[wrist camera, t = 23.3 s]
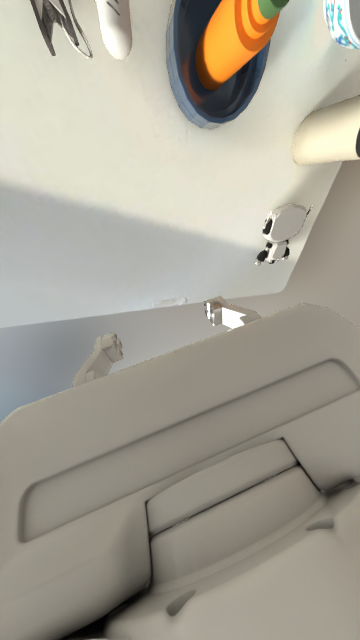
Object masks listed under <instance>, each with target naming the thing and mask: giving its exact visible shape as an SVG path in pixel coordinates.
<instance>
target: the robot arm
mask: <svg viewBox="0 0 360 640" xmlns="http://www.w3.org/2000/svg"><path fill="white" fill-rule="evenodd" d="M204 305H205V306H206V308H205V313H206V316H207V317H208V318H209V319H210V321H211V323H212V324H213V326H215V325H218V324H221V323H223V324H224V325H227V326H229V327H231V328H233V329H231V330H228V331H225V332H223V333H220V334H217V335H214V336H212V337H209V338H206V339H204V340H201V341H198V342H195V343H193V344H190V345H187V346H185V347H182V348H179V349H176V350H174V351H171V352H169V353H166V354H163V355H160V356H158V357H155V358H152V359H150V360H147V361H144V362H141V363H139V364H136V365H133V366H130V367H128V368H125V369H122V370H120V371H117V372H114V373H112V374H109V375H108V373H109V371H110V369H111V366H112V365H113V363H114V362H116V361H119V360H121V359H123V353H122V351H121V350H122V344H121V342H120V340H119V339H118V338H117V335H116V334H115V332H113V333H110V334H107V335H103V336H101V337H98V338H96V339H95V348H94V353H92V354H91V356H90V357H89V358H88V359H87V360H86V362H85V363H84V364H83V366H82V367H81V368H80V369H79V371H78V372H77V373H76V375H75V376H74V379H73V384H72V388H71V389H68V390H66V391H63V392H60V393H57V394H55V395H52V396H49V397H46V398H44V399H41V400H38V401H36V402H33V403H30V404H27V405H24V406H21V407H19V408H17V409H15V410H14V411H13V412H11V413H10V414H9V415H8V416H7V417H6V418H5V419H4V420H3V421H2V422H1V423H0V640H360V328H358V327H357V326H356V325H354V324H353V323H351V322H350V321H348V320H347V319H345V318H344V317H342V316H341V315H339V314H338V313H336V312H334V311H333V310H331V309H329V308H327V307H322V306H318V305H313V304H307V303H302V304H298V305H296V306H293V307H290V308H287V309H285V310H282V311H279V312H277V313H274V314H271V315H269V316H266V317H263V318H262V317H261V316H260V315H259V314H258V313H257V312H255V311H253V310H249V309H245V308H242V307H238V306H235V305H229V304H228V303H227V302H226V301H225V300H224V299H223V298H222V297H221V296H218V297H215V298H212V299H210V300H207V301H204Z"/></svg>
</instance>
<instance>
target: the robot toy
mask: <svg viewBox="0 0 360 640" xmlns="http://www.w3.org/2000/svg"><path fill="white" fill-rule="evenodd" d="M313 206H314V204H313V205H312V206H311V207H310V209H309V211H308V213H307V212H306V209H305V207H303V206H300V205H296V204H286V205H283V206H280V207H278V208H276V209H274V210H273V211H271V212H270V213H269V215H268V217H267V219H266V221H265V224H264V226H263V235H264V237H265V238H266V239H268V240H270V241H269V242H268V243H267V245H266V249H265V250H264V251H262V252H260V254H259V255H258V257H257V259H258V260H257V261H256V262H255V265H256V266H259V265H260V264H261V261H262V262H264V260H267V261H268V262H269V263H270V264H273V263H274V262H278V261H279V260H280V258H281V257H282V259H283V260H285V259H287V258H288V255H289V248H288V247H287V244H288V239H290V238H292V237H293V236H295V235H296V234H297V233H298V232H299V231H300V230H301V228H302V226H303V223H304V221H305V219H306V217H307V215H308V214H309V212H310V211H311V209H312V208H313Z"/></svg>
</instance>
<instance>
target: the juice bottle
mask: <svg viewBox="0 0 360 640" xmlns="http://www.w3.org/2000/svg"><path fill="white" fill-rule="evenodd" d="M288 1H289V0H222V1H221V2H220V4H219V6H218V7H217V9H216V11H215V12H214V14H213V16H212V17H211V19H210V21H209V22H208V24H207V26H206V28H205V29H204V31H203V33H202V34H201V36H200V38H199V41H198V44H197V48H196V57H195V62H196V71H197V75H198V78H199V80H200V82H201V84H202V85H203V86H204V87H205V88H206V89H208V90H211V91H212V90H216V89H218V88H219V87H220V86H221V85H222V84H223V83H225V82H226V81H227V80H228V79H229V78H230V77H231V76H232V75H233V74H235V73H236V72H237V71H238V70H239V69H240V68H241V67H242V66H243V65H245V64H246V63H247V62H248V61H249V60H250V59H251V58H252V57H253V56H255V55H256V54H257V53H258V52H259V51H260V50H261V49H262V48H263V47H264V46H265V45H266V44H267V43H268V41H269V40H270V38H271V36H272V34H273V32H274V30H275V27H276V24H277V21H278V18H279V14H280V10H281V9H282V8H283V7H284V6H285V5H286V4H287V3H288Z"/></svg>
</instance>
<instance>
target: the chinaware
mask: <svg viewBox="0 0 360 640" xmlns="http://www.w3.org/2000/svg"><path fill="white" fill-rule="evenodd" d="M323 9H324V17H325V21H326V23H327V25H328V28H329V31H330V33H331V35H332V37H333V39H334V40H335V41H336V42H337V43H338V44H339V45H340V46H342V47H345V48H348V49H360V0H324V4H323Z"/></svg>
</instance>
